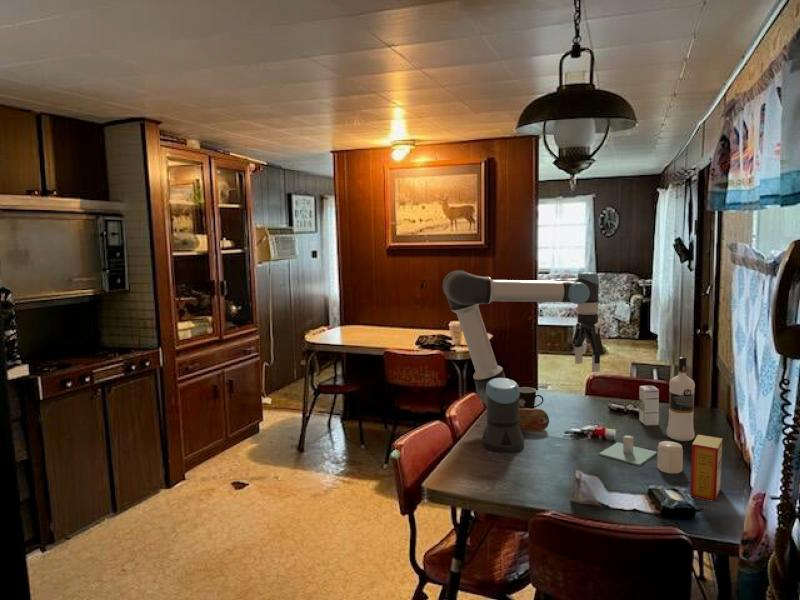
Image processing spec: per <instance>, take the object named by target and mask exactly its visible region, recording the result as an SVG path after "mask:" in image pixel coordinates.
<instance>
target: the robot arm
mask: <svg viewBox="0 0 800 600" xmlns="http://www.w3.org/2000/svg"><path fill="white" fill-rule="evenodd" d="M599 279H600V278H599V274H598V273H597V272H592V271H591V272H590V271H585V272H579V273H578V274H577V277H574V278H549V279H548V280H521V279H520V280H519V279H517V280H516V279H515V280H514V279H512V280H511V279H509V280H508V279H492V278H491V277H490V276H481V275H475V274H472V273H468V272H467V271H465V270H461V269H459V270H458V269H457V270H454V271H451V272H449V273H448V274H447V275H446V276H445V277H444V279H443V281H442V290H443V291H442V292H443V294H444V296H446V299H447V302H448V304H449V308H450V310H451V311H452V312H453V313H455V314H456V315H457V320H458V322H459V325H460V328H461V331H462V335H463V337H464V340H465V344H466V347H467V349H468V352H469V356H470V358H471V361H472V365H473V367H474V370H475V372H474V374H473V376H472V377H473V381H474V384H475V392H476V394H477V396H478V398H479V400H480V401H482V402H483V404H484V405H485V407H486V425H485V428H484V430H483V434H482V438H481V445H482V447H483V448H484V449H486V450H489V451H491V452H497V453H514V452H519V451H521V450H522V449H523V448H524V447H525V438H524V436H523V432H522V430H521V429H520V426H519V395H520V392H519V388H520V387H519V384H518V383H517V382H516V381H515V380H513V379H510V378H506V374H505V372H504V368H503V367H502V366H500V365H498V362H497V360H496V356H495V354H494V351H493V348H492V345H491V342H490V341H491V340H490V339H489V335H488V332H487V330H486V329H487V328H486V327H485V323H484V320H483V316H482V314H481V311H480V306H479V305H489V304H490V303H492V302H518V303H519V302H524V303H526V302H527V303H528V302H533V303H534V302H535V303H536V302H537V303H571V304H577V308H576V309H577V322H576V325H575V326H576V327H575V331H574V334H573V339H572V342H571V344H572V345H573V346H574V348H575V350H574V351H575V352H574V355H575V356H574V364H575V365H577V364H579V365H580V364H581V365H582V364H583V355H584V354H583V350H584V349H583V346H584V345H583V344H584V342H585V340H586V339H587V340H588V342H589V345H590V347H591V350H592V352H593V353H592V354H591V357H592V358H591V359H592V360H591V372H593V373H594V372H596V373H598V372H600V371H601V366H600V365H601V355H604V353H605V352H604V347H603V342H602V338H601V333H600V332H601V330H600V327H595V325H597V324H598V323H599V313H598V312H599V306H600V305H599V291H600V290H599V286H600V280H599Z"/></svg>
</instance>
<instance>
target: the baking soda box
mask: <svg viewBox="0 0 800 600" xmlns="http://www.w3.org/2000/svg"><path fill="white" fill-rule="evenodd" d="M694 438H695V439H693V442H692V444H691V466H690V468H691V469H690V495H692V496H694V497H693V498H696V497H698V498H697V499H700V498H704V499H703V500H705V499H708V500H707V501H709V500H712V501H711V502H714V501H716V502H717V500H716V499H718V497H719V495H718V494H720V492H719V491H721V484H722V467H723V466H722V464H723V463H722V462H723V460H722V459H723V440H724V439H723V437H722V438H721V437H717V436H711V435H710V436H709V435H705V434H697V435H696V437H694ZM690 495H689V496H690ZM692 496H691V497H692Z"/></svg>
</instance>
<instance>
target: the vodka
mask: <svg viewBox="0 0 800 600" xmlns="http://www.w3.org/2000/svg"><path fill="white" fill-rule="evenodd" d="M687 361H688V358H687V357H684V356H680V357H678V374H677V375H675V376H673V377H672V378H670V379H669V383H668V384H669V390H668V391H669V402H668V403H669V405H668V406H669V409H668V423H667V428H666V435H667V437H668V438H670V439H671V440H674V441H679V442H689V441H692V440H694V438H695V430H694V429H695V427H694V414H695V412H694V411H695V410H694V409H695V408H694V407H695V406H694V405H695V391H696V390H695V388H696V384H695V381H694V380H693V379H692V378H691V377H689V376H688V375H687V367H688V366H687Z"/></svg>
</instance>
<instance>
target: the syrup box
mask: <svg viewBox="0 0 800 600" xmlns="http://www.w3.org/2000/svg"><path fill="white" fill-rule="evenodd" d="M638 388H639V395H638V396H639V398H638V399H639V403H638V405H639V407H638V408H639V409H638V421H639V422H640V423H642V425H644V426H659V422H660V421H659V417H660V416H659V414H660V411H659V410H660V408H659V407H660V406H659V405H660V404H659V403H660V402H659V401H660V400H659V399H660V398H659V397H660V390H659V389H660V388H657V387H656V386H654V385H639V387H638Z"/></svg>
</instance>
